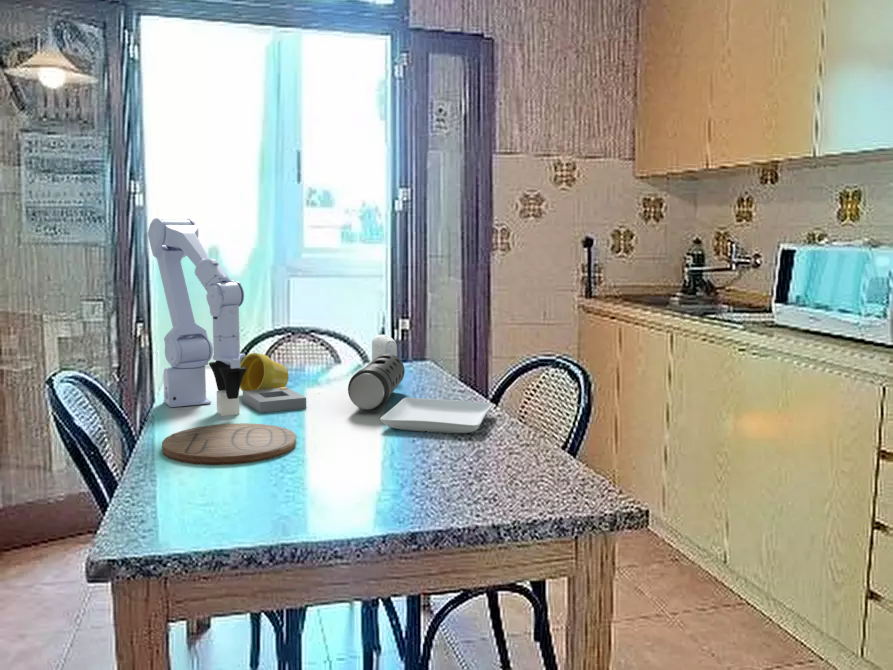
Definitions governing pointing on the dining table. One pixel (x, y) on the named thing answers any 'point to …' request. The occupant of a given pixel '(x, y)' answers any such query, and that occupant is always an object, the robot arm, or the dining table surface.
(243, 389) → the plant pot
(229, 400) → the plug block
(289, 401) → the socket plate
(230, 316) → the robot arm
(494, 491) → the dining table surface
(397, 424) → the salad plate
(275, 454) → the trivet
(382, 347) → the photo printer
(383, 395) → the muzzle brake
